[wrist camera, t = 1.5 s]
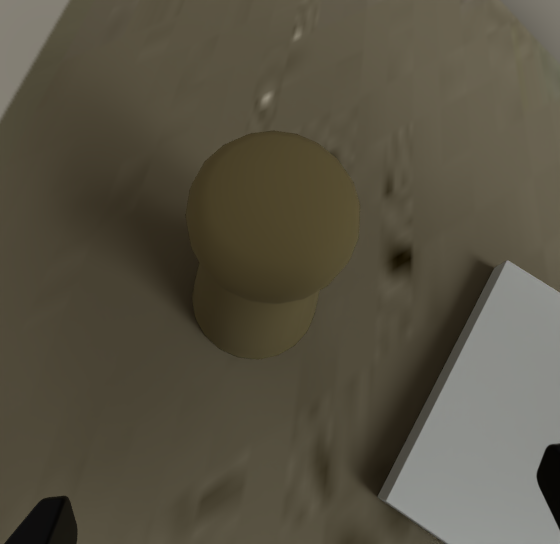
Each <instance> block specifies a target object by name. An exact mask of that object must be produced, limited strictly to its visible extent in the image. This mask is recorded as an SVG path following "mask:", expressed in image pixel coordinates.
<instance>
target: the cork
mask: <svg viewBox="0 0 560 544" xmlns="http://www.w3.org/2000/svg"><path fill="white" fill-rule="evenodd" d="M185 216H186V222H187V227H188V233H189V239H190V243H191V248H192V250H193V252H194V253H195V255H196V257H197V259H198V261H199V266H198V270H197V274H196V278H195V283H194V289H193V296H192V302H193V308H194V313H195V318H196V320H197V322H198V324H199V326H200V328H201V329H202V331H203V333H204V335H205V336H206V337H207V338H208V339H209V340H210V341H211V342H213V343H214V344H215V345H216V346H217V347H218V348H219V349H221V350H223V351H225V352H227V353H230V354H232V355H234V356H236V357H240V358H249V359H263V358H267V357H272V356H277V355H279V354H281V353H283V352H284V351H286V350H288V349H289V348H291V347H293V346H295V345H296V343H297V342H298V341H299V340H300V339H301V338H302V337H303V335H304V334H305V333H306V332H307V331H308V328H309V326H310V324H311V321H312V319H313V316H314V314H315V310H316V305H317V300H318V296H319V291H320V290H321V289H323V288H325V287H327V286H328V285H329V284H330V283H331V282H332V280H333V279H334V278H335V277H336V276H337V275H338V274H339V273H340V271H341V270H342V269H343V268H344V267H345V266H346V264H347V263H348V262H349V260H350V258H351V255H352V253H353V250H354V248H355V245H356V243H357V241H358V238H359V223H360V203H359V200H358V196H357V193H356V190H355V186H354V183H353V181H352V179H351V178H350V177H349V175H348V174H347V172H346V171H345V169H344V168H343V166H342V165H341V163H340V162H339V161H338V160H337V159H336V158H335V157H334V156H333V155H332V154H330V153H329V152H328V151H327V150H326V149H324V148H323V147H322V146H321V145H319V144H318V143H316V142H314V141H311V140H309V139H307V138H305V137H302V136H300V135H298V134H293V133H286V132H279V131H266V132H259V133H251V134H248V135H245V136H243V137H241V138H238V139H236V140H234V141H232V142H229V143H227V144H225V145H223V146H222V147H221V148H219V149H218V150H217V151H216V152H215V153H214V154H213V155H212V156H210V157H209V158H208V159H207V160H206V161H205V162H204V164H203V166H202V167H201V169H200V171H199V173H198V174H197V176H196V178H195V180H194V181H193V183H192V186H191V188H190V191H189V197H188V203H187V209H186V214H185Z"/></svg>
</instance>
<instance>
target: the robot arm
mask: <svg viewBox="0 0 560 544" xmlns="http://www.w3.org/2000/svg"><path fill="white" fill-rule="evenodd" d="M536 477H537V482H538V485H539V488H540V490H541V492H542V494H543V496H544V498H545V501H546V503H547V505H548V507H549V509H550V511H551V513H552V515H553V517H554V519H555V522H556V524H557V526H558V528H559V530H560V443H557V444H550V445H548V446H547V447H546V449H545V451H544V454H543V457H542V459H541V462H540V464H539V467H538V470H537V474H536ZM76 543H77V524H76V520H75V517H74V513H73V510H72V506H71V503H70V500H69V498H68V497H67V496H57V497H48V498H44V499H42V500H41V501H40V502H39V503H38V504H37V505H36V506H35V507H34V508H33V510H32V511H31V512H30V513H29V514H28V516H27V517H26V518H25V519H24V520H23V522H22V523H21V524H20V525H19V526H18V528H17V529H16V530H15V531H14V532H13V534H12V535H11V536H10V537H9V538H8V540H7V541H6V542H5V543H4V544H76Z"/></svg>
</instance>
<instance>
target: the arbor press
mask: <svg viewBox="0 0 560 544" xmlns="http://www.w3.org/2000/svg"><path fill="white" fill-rule="evenodd" d="M557 443H560V293H559V292H558V291H556V290H555V289H553V288H551V287H550V286H548V285H547V284H545V283H543V282H542V281H540V280H539V279H537V278H535V277H534V276H532V275H531V274H529V273H527V272H526V271H524V270H523V269H521V268H519V267H518V266H516V265H515V264H513V263H511V262H510V261H508V260H507V261H505V262H503V263H501V264H500V265H498V266H496V267H495V268H494V270H493V271H492V273H491V275H490V277H489V279H488V281H487V283H486V285H485V287H484V289H483V291H482V293H481V295H480V297H479V299H478V301H477V303H476V305H475V307H474V309H473V311H472V313H471V315H470V316H469V318H468V320H467V322H466V324H465V326H464V328H463V330H462V332H461V334H460V336H459V338H458V340H457V342H456V344H455V346H454V348H453V350H452V352H451V354H450V356H449V358H448V360H447V361H446V363H445V365H444V367H443V369H442V371H441V373H440V375H439V377H438V379H437V381H436V383H435V385H434V387H433V389H432V391H431V393H430V395H429V397H428V399H427V401H426V403H425V404H424V406H423V408H422V410H421V412H420V414H419V416H418V418H417V420H416V422H415V424H414V426H413V428H412V430H411V432H410V434H409V436H408V438H407V440H406V442H405V444H404V446H403V448H402V449H401V451H400V453H399V455H398V457H397V459H396V461H395V463H394V465H393V467H392V469H391V471H390V473H389V475H388V477H387V479H386V481H385V483H384V485H383V487H382V489H381V491H380V493H379V494H378V496H377V497H378V498H379V499H381V500H382V501H384V502H385V503H387V504H388V505H390V506H391V507H393V508H394V509H395V510H397V511H398V512H400V513H401V514H403V515H404V516H406V517H407V518H409V519H410V520H412V521H413V522H414V523H416V524H417V525H419V526H420V527H422V528H423V529H425V530H426V531H428V532H429V533H430V534H432V535H433V536H435V537H436V538H438V539H439V540H441V541H442V542H444V543H445V544H560V530H559V528H558V526H557V524H556V522H555V519H554V517H553V515H552V513H551V511H550V509H549V507H548V505H547V503H546V501H545V498H544V496H543V494H542V492H541V490H540V488H539V485H538V482H537V477H536V474H537V470H538V467H539V464H540V462H541V459H542V457H543V454H544V451H545V449H546V447H547V446H548V445H550V444H557Z"/></svg>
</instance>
